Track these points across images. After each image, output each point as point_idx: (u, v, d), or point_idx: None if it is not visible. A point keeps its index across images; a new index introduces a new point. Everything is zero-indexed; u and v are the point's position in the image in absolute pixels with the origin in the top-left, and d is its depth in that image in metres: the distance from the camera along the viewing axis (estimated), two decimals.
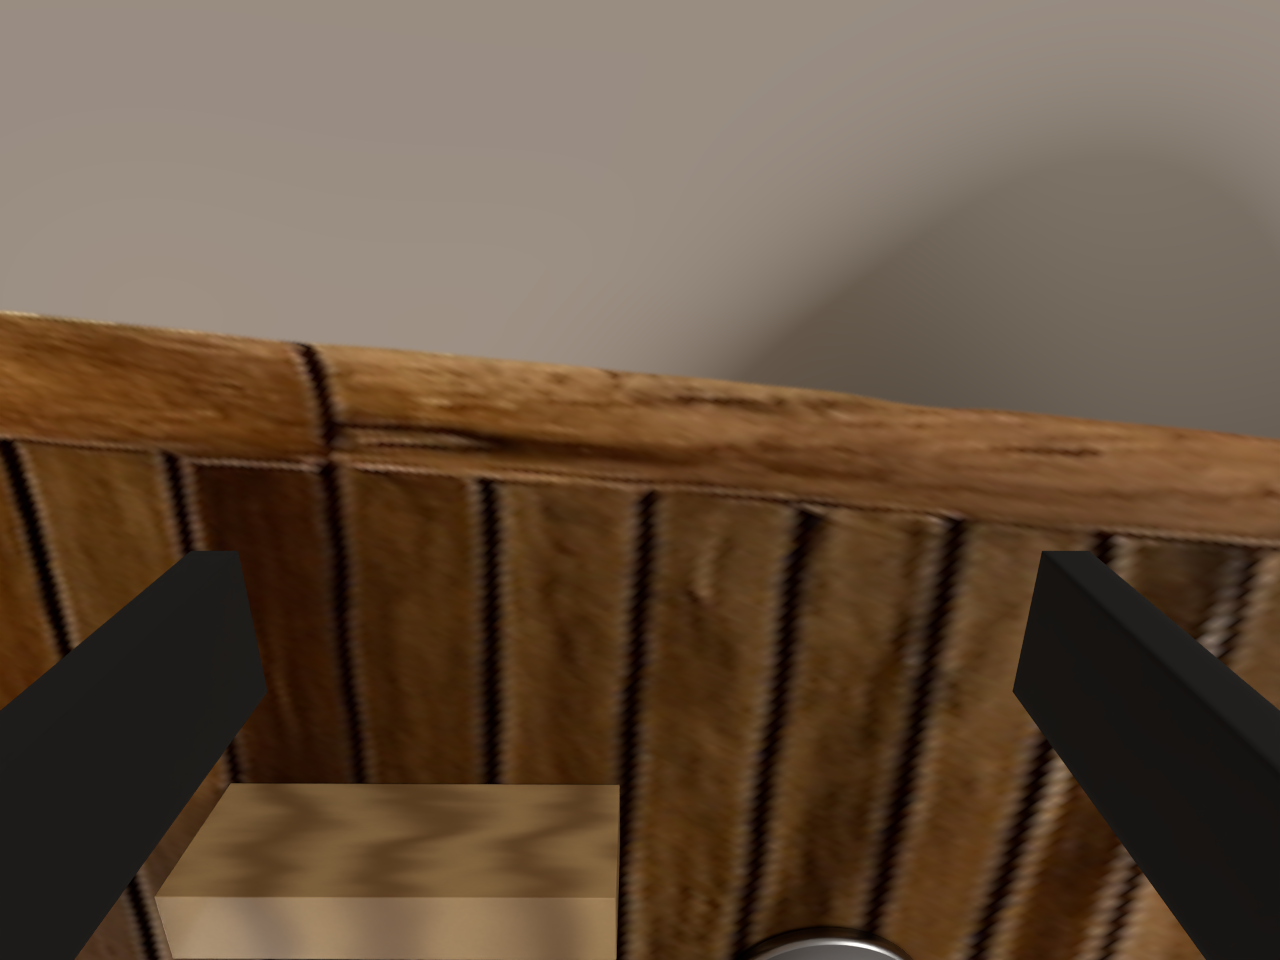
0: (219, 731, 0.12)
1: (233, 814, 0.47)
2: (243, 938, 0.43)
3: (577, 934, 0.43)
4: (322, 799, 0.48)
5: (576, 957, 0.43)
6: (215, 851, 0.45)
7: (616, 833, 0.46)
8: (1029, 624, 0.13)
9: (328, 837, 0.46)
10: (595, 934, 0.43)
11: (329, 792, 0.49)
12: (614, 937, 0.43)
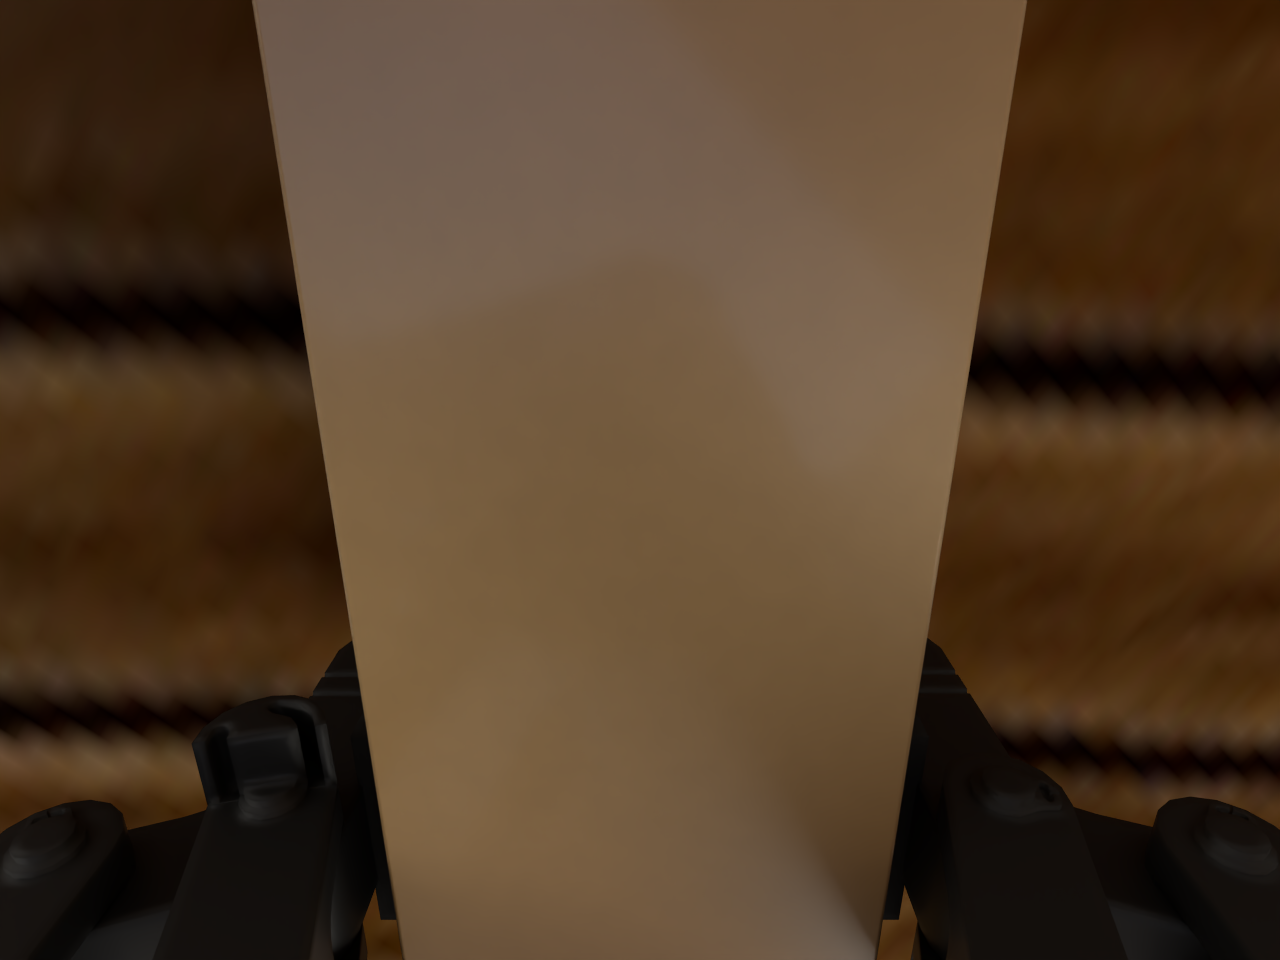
0: None
1: None
2: None
3: None
4: None
5: None
6: None
7: None
8: None
9: None
10: None
11: None
12: None
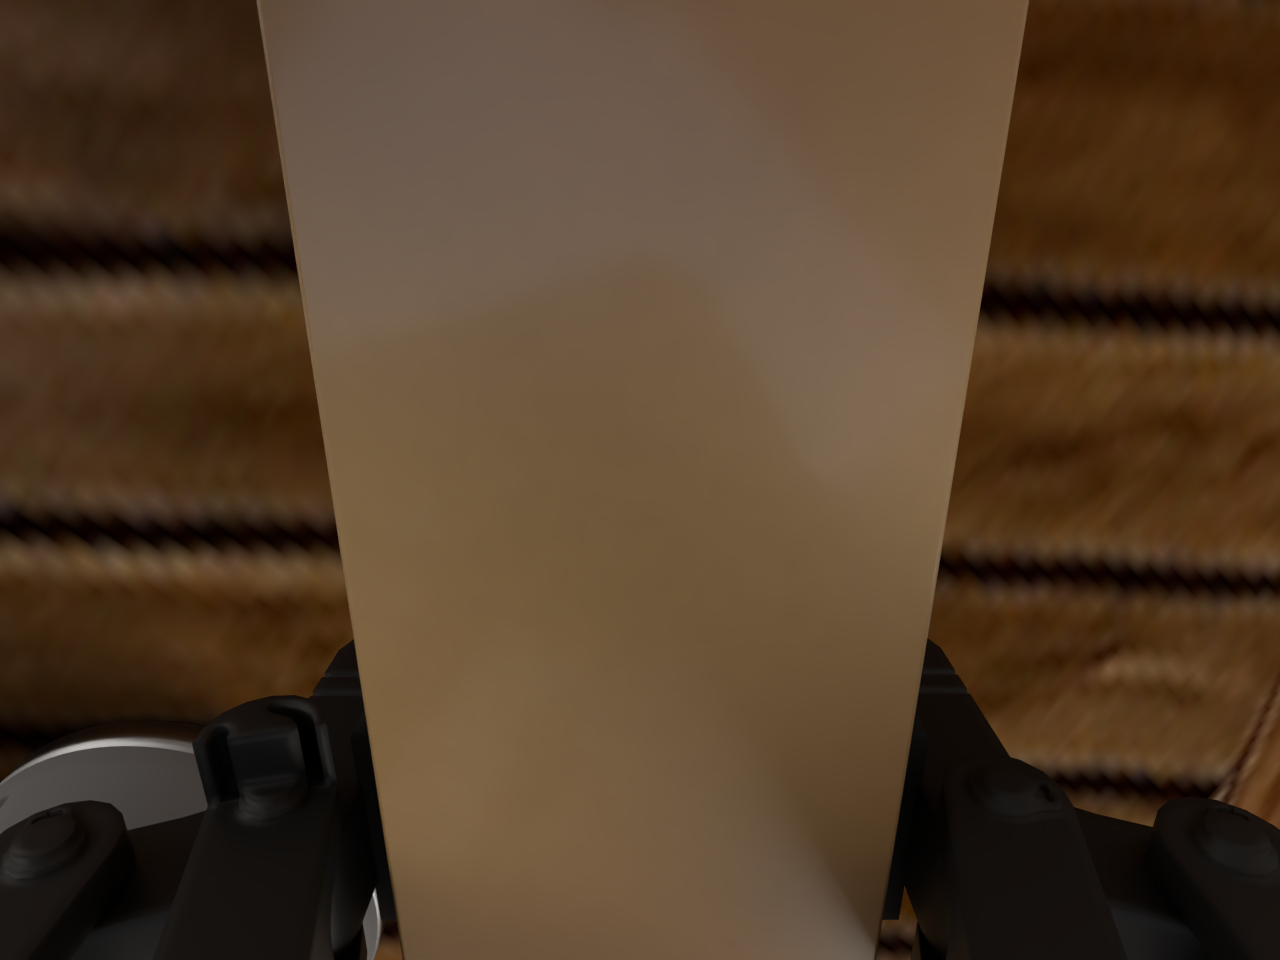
0: None
1: None
2: None
3: None
4: None
5: None
6: None
7: None
8: None
9: None
10: None
11: None
12: None
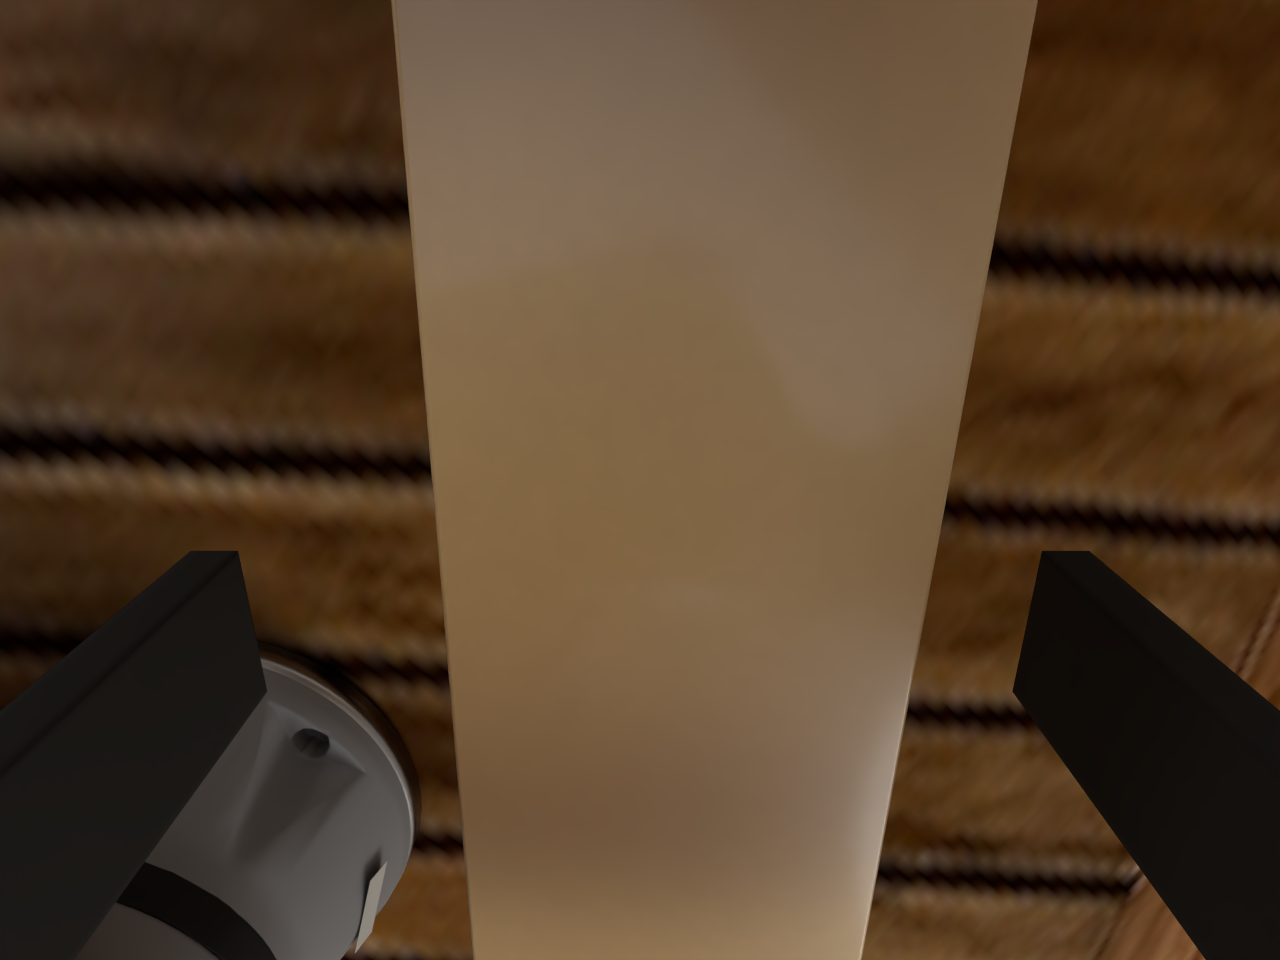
0: (219, 731, 0.12)
1: None
2: None
3: (636, 897, 0.09)
4: None
5: (483, 883, 0.09)
6: None
7: None
8: (1029, 624, 0.13)
9: None
10: (636, 956, 0.09)
11: None
12: None
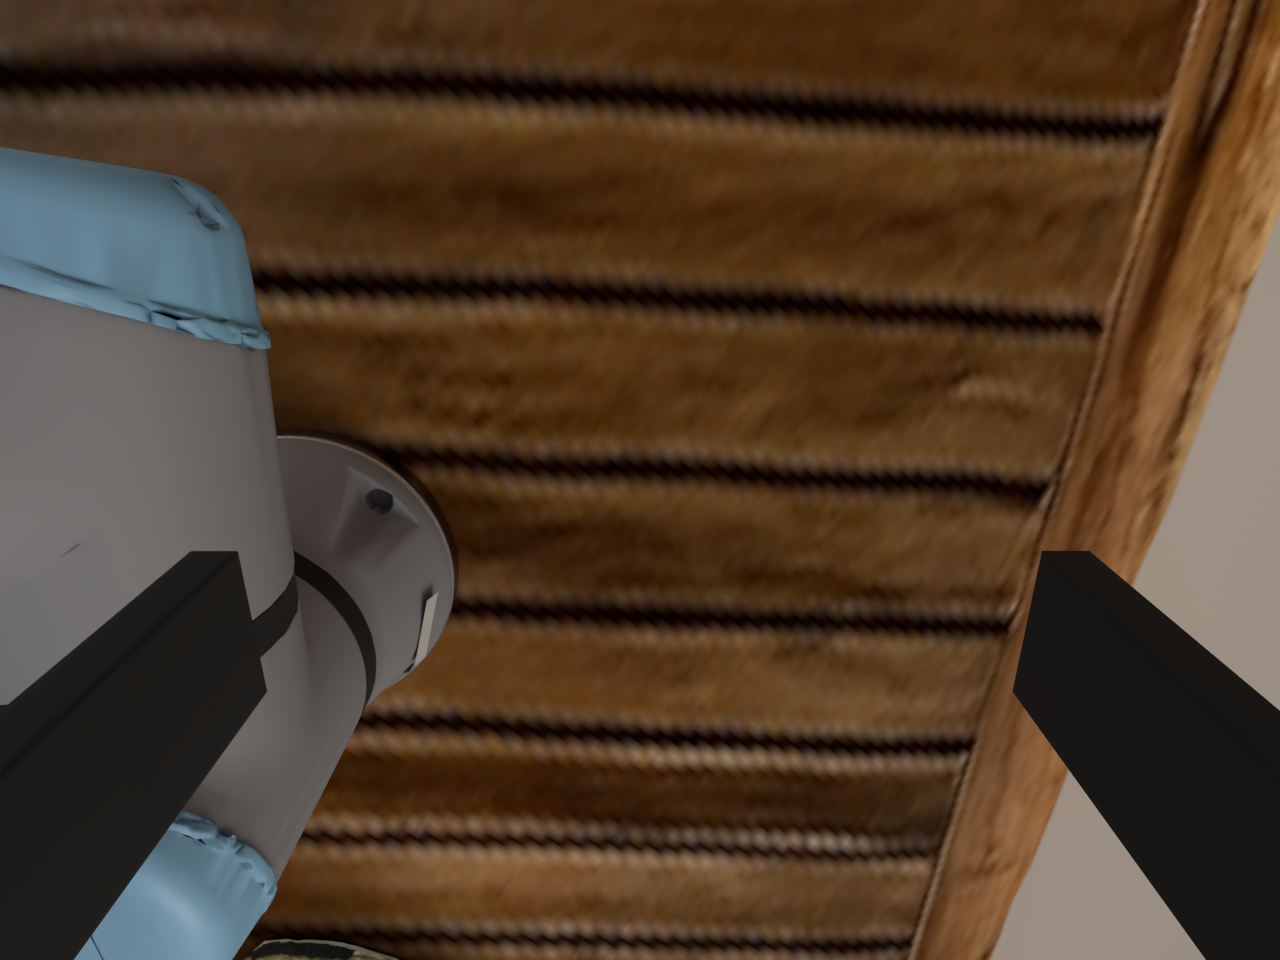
0: (219, 731, 0.12)
1: None
2: None
3: None
4: None
5: None
6: None
7: None
8: (1029, 624, 0.13)
9: None
10: None
11: None
12: None
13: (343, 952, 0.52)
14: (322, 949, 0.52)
